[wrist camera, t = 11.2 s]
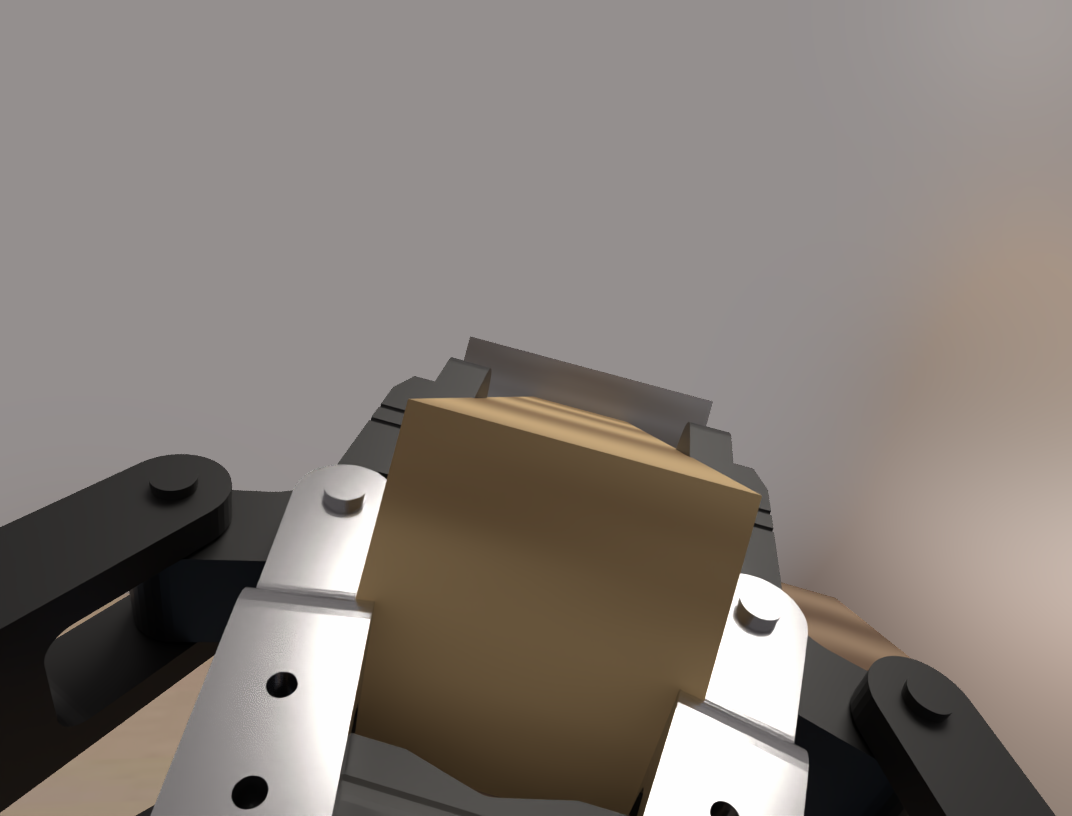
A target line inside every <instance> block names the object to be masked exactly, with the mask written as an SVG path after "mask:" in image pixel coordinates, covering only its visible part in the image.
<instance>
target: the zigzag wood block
mask: <svg viewBox="0 0 1072 816" xmlns="http://www.w3.org/2000/svg"><path fill="white" fill-rule="evenodd" d="M781 586H782V591H783V592H785V593H786V594H787V595H788V596H789V597H790V598H791V599H792V600H793V601H794V602H795V603H796V604H797V605H798V607H799V608H800V610H801V611H802V613H803V615H804V617H805V619H806V622H807V626H808V635H809V636H810V637H811V638H812V639H813V640H814V641H816V642H817V643H819V644H820V645H821V646H823V647H825V648H826V649H828V650H830V651H831V652H833V653H835V654H837V655H839V656H840V657H842V658H844V659H846V660H848V661H850V662H852V663H853V664H855V665H857V666H859V667H861V668H863V669H865V670H866V671H868V670H869V668H870V667H871V666H872V664H873V663H874V662H875V661H877V660H878V659H880V658H883V657H886V656H902V657H907V658H909V656H907V655H906V654H905V653H904V652H902V651H901V650H900V649H898V648H897V647H896V646H895V645H893V644H892V643H891V642H890V641H888V640H887V639H886V638H884V637H883V636H882V635H881V634H880V633H879V632H877V631H876V630H875V629H874V628H872V627H871V626H870V625H868V624H867V623H866V622H865V621H863V620H862V619H861V618H860V617H858V616H857V615H856V614H855V613H853V612H852V611H851V610H850V609H848V608H847V607H846V606H845V605H843V604H842V603H841V602H840V601H838V600H837V599H836V598H834V597H830V596H827V595H823V594H820V593H816V592H813V591H809V590H806V589H802V588H799V587H795V586H792V585H788V584H785V583H781ZM473 790H474V789H473ZM475 791H476V792H478V793H480V794H482V795H485V796H488V797H494V798H500V797H497V796H494V795H490V794H487V793H484V792H480V791H477V790H475Z"/></svg>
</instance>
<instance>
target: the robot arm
mask: <svg viewBox="0 0 1072 816" xmlns="http://www.w3.org/2000/svg"><path fill="white" fill-rule="evenodd" d="M491 372H492V370H491V368H489V367H485V366H482V365H478V364H474V363H471V362H467V361H463V360H459V359H456V358H450V359H449V361H448V362H447V364H446V365H445V367H444V368H443V370H442V372H441V373H440V375H439V376H438V378H437V379H436V381H435V382H434V381H430V380H427V379H423V378H419V377H416V376H414V377H412V378H410V379H408V380H406V381H404V382H402V383H401V384H399V385H397V386H395V387H393V388H392V389H391V391H390V392H389V394H388V395H387V396H386V398H385V399H384V401H383V402H382V403H381V407H379V408H378V409H377V410H376V412H375V413H374V414H373V416H372V418H371V421H370V420H369V421H368V423H367V424H366V425H365V427H364V428H363V430H362V431H361V432H360V434H359V435H358V437H357V438H356V439H355V441H354V442H353V443H352V445H351V446H350V448H349V449H348V450H347V452H346V453H345V455H344V456H343V457H342V459H341V460H340V461H339V463H338V464H337V465H331V466H325V467H322V468H319V469H316V470H313V471H312V472H310V473H308V474H306V475H305V476H304V477H303V478H301V479H300V480H299V481H298V482H297V484H296V485H295V487H294V489H293V490H292V491H284V492H261V491H239V490H232V482H231V478H230V475H229V473H228V472H227V470H226V469H225V468H224V467H223V466H221V465H220V464H219V463H217V462H215V461H213V460H211V459H208V458H205V457H201V456H196V455H188V454H185V455H184V454H175V455H166V456H160V457H156V458H153V459H149V460H146V461H144V462H141V463H139V464H137V465H135V466H133V467H130V468H128V469H126V470H124V471H122V472H120V473H117V474H115V475H113V476H111V477H109V478H107V479H104V480H102V481H100V482H98V483H96V484H93V485H91V486H89V487H87V488H85V489H83V490H80V491H78V492H76V493H74V494H72V495H70V496H68V497H65V498H63V499H61V500H59V501H57V502H54V503H52V504H50V505H48V506H46V507H43V508H41V509H39V510H37V511H35V512H33V513H31V514H28V515H26V516H24V517H22V518H20V519H17V520H15V521H13V522H11V523H9V524H7V525H5V526H2V527H0V812H2V811H3V810H4V809H6V808H7V807H9V806H10V805H11V804H13V803H14V802H15V801H17V800H18V799H19V798H21V797H22V796H23V795H25V794H26V793H28V792H29V791H30V790H32V789H33V788H34V787H36V786H37V785H38V784H40V783H41V782H42V781H44V780H45V779H47V778H48V777H49V776H51V775H52V774H53V773H55V772H56V771H57V770H59V769H60V768H61V767H63V766H64V765H66V764H67V763H68V762H70V761H71V760H72V759H74V758H75V757H76V756H78V755H79V754H80V753H82V752H83V751H85V750H86V749H87V748H89V747H90V746H91V745H93V744H94V743H95V742H97V741H98V740H99V739H101V738H102V737H104V736H105V735H106V734H108V733H109V732H110V731H112V730H113V729H114V728H116V727H117V726H118V725H120V724H121V723H123V722H124V721H125V720H127V719H128V718H129V717H131V716H132V715H133V714H135V713H136V712H137V711H139V710H140V709H142V708H143V707H144V706H146V705H147V704H148V703H150V702H151V701H152V700H154V699H155V698H156V697H158V696H159V695H161V694H162V693H163V692H165V691H166V690H167V689H169V688H170V687H171V686H173V685H174V684H176V683H177V682H178V681H180V680H181V679H182V678H184V677H185V676H186V675H188V674H189V673H190V672H192V671H193V670H195V669H196V668H197V667H199V666H200V665H201V664H203V663H204V662H205V661H207V660H208V659H209V658H211V657H212V656H214V655H215V656H214V658H213V661H212V663H211V666H210V668H209V671H208V673H207V676H206V678H205V681H204V683H203V686H202V688H201V691H200V693H199V696H198V698H197V701H196V703H195V706H194V708H193V711H192V713H191V716H190V718H189V721H188V723H187V726H186V728H185V731H184V733H183V736H182V738H181V741H180V743H179V746H178V748H177V751H176V753H175V756H174V758H173V761H172V763H171V766H170V768H169V771H168V773H167V776H166V778H165V781H164V783H163V786H162V788H161V791H160V793H159V796H158V798H157V801H156V803H155V805H154V806H152V807H150V808H148V809H147V810H145V811H143V812H142V813H140V814H138V815H136V816H628V815H625V814H621V813H618V812H615V811H611V810H608V809H605V808H601V807H598V806H595V805H591V804H588V803H585V802H581V801H574V800H546V799H517V798H494V797H488V796H485V795H482V794H480V793H478V792H476V791H475V790H473V789H471V788H470V787H468V786H466V785H465V784H463V783H461V782H460V781H458V780H456V779H455V778H453V777H451V776H450V775H448V774H446V773H445V772H443V771H441V770H440V769H438V768H437V767H435V766H433V765H432V764H430V763H428V762H427V761H425V760H423V759H422V758H420V757H418V756H417V755H415V754H413V753H412V752H410V751H408V750H407V749H404V748H400V747H397V746H394V745H390V744H387V743H384V742H380V741H377V740H374V739H370V738H367V737H364V736H360V735H357V734H354V733H355V731H356V725H357V718H358V711H359V704H360V698H361V691H362V684H363V678H364V671H365V664H366V657H367V651H368V644H369V637H370V631H371V624H372V617H373V611H374V604H375V601H370V600H361V599H355V598H356V594H357V590H358V587H359V583H360V579H361V575H362V571H363V568H364V564H365V560H366V556H367V552H368V549H369V545H370V541H371V537H372V534H373V530H374V526H375V522H376V518H377V515H378V511H379V507H380V503H381V500H382V496H383V492H384V488H385V484H386V481H387V477H388V473H389V469H390V466H391V462H392V458H393V454H394V450H395V447H396V443H397V439H398V435H399V432H400V428H401V424H402V420H403V416H404V413H405V409H406V405H407V401H408V399H424V398H487V396H488V391H489V385H490V380H491ZM676 450H678V451H680V452H682V453H683V454H685V455H687V456H689V457H691V458H694V459H696V460H698V461H699V462H701V463H703V464H705V465H707V466H709V467H710V468H712V469H714V470H716V471H718V472H720V473H721V474H723V475H725V476H727V477H729V478H731V479H732V480H734V481H736V482H738V483H740V484H742V485H743V486H745V487H747V488H749V489H751V490H753V491H754V492H756V493H758V494H760V495H762V498H761V501H760V505H759V509H758V512H757V516H756V519H755V523H754V526H753V530H752V533H751V537H750V541H749V544H748V548H747V551H746V555H745V558H744V562H743V565H742V569H741V573H740V576H739V580H738V583H737V587H736V590H735V594H734V598H733V601H732V605H731V608H730V612H729V615H728V619H727V622H726V626H725V630H724V633H723V637H722V640H721V644H720V647H719V651H718V654H717V658H716V662H715V665H714V669H713V672H712V676H711V679H710V683H709V686H708V690H707V694H706V697H705V701H704V700H702V699H699V698H697V697H695V696H693V695H691V694H689V693H687V692H685V691H683V690H681V689H680V690H679V692H678V695H677V697H676V700H675V702H674V705H673V707H672V709H671V712H670V714H669V717H668V719H667V722H666V724H665V727H664V729H663V732H662V734H661V736H660V739H659V741H658V744H657V746H656V749H655V751H654V754H653V756H652V759H651V761H650V763H649V766H648V768H647V771H646V773H645V776H644V778H643V781H642V783H641V785H640V788H639V790H638V793H637V795H636V798H635V800H634V803H633V805H632V808H631V810H630V812H629V816H1055V814H1054V813H1053V812H1052V810H1051V809H1050V807H1049V806H1048V805H1047V803H1046V802H1045V801H1044V799H1043V798H1042V797H1041V795H1040V794H1039V793H1038V791H1037V790H1036V789H1035V788H1034V786H1033V785H1032V783H1031V782H1030V781H1029V779H1028V778H1027V777H1026V775H1025V774H1024V773H1023V771H1022V770H1021V769H1020V767H1019V766H1018V764H1017V763H1016V762H1015V761H1014V759H1013V758H1012V757H1011V755H1010V754H1009V752H1008V751H1007V750H1006V748H1005V747H1004V746H1003V744H1002V743H1001V742H1000V740H999V739H998V738H997V736H996V735H995V734H994V732H993V731H992V730H991V728H990V727H989V726H988V724H987V723H986V721H985V720H984V719H983V717H982V716H981V715H980V713H979V712H978V711H977V709H976V708H975V707H974V705H973V704H972V703H971V701H970V700H969V699H968V698H967V696H966V695H965V694H964V693H963V692H962V691H961V690H960V689H959V688H958V687H957V686H956V685H955V684H954V683H953V682H952V681H951V680H949V679H948V678H947V677H946V676H944V675H943V674H941V673H940V672H939V671H937V670H935V669H934V668H932V667H930V666H928V665H926V664H924V663H922V662H919V661H917V660H914V659H911V658H907V657H902V656H886V657H883V658H880V659H878V660H877V661H875V662H874V663H873V664H872V666H871V667H870V668H869V670H868V671H866V670H865V669H863V668H861V667H859V666H857V665H855V664H853V663H852V662H850V661H848V660H846V659H844V658H842V657H840V656H839V655H837V654H835V653H833V652H831V651H830V650H828V649H826V648H825V647H823V646H821V645H820V644H819V643H817V642H816V641H814V640H813V639H812V638H811V637H810V636H809V635H808V626H807V622H806V619H805V617H804V615H803V613H802V611H801V610H800V608H799V607H798V605H797V604H796V603H795V602H794V601H793V600H792V599H791V598H790V597H789V596H788V595H787V594H786V593H785V592H783V591H782V586H781V580H780V572H779V565H778V558H777V552H776V544H775V537H774V533H773V532H772V530H773V523H772V516H771V515H770V512H771V509H770V502H769V495H768V490H767V488H766V487H765V485H764V484H763V482H762V481H761V479H760V478H759V477H758V475H757V474H756V472H755V471H754V469H752V468H749V467H745V466H742V465H738V464H734V463H733V454H732V442H731V434H730V433H729V432H725V431H721V430H717V429H713V428H710V427H706V426H703V425H699V424H695V423H692V422H688V423H687V424H686V425H685V427H684V430H683V432H682V434H681V437H680V440H679V442H678V445H677V448H676ZM128 591H129V592H130V595H128V596H127V597H125V598H123V599H122V600H120V601H118V602H117V603H115V604H113V605H112V606H110V607H108V608H107V609H105V610H103V611H102V612H100V613H98V614H97V615H95V616H93V617H92V618H90V619H88V620H87V621H85V622H83V623H82V624H80V625H78V626H77V627H75V628H73V629H72V630H70V631H68V632H67V633H65V634H63V635H62V636H60V637H58V636H59V635H60V634H61V633H62V632H63V631H64V630H65V629H67V628H68V627H69V626H71V625H72V624H74V623H76V622H77V621H79V620H81V619H82V618H84V617H86V616H87V615H89V614H91V613H92V612H94V611H96V610H98V609H99V608H101V607H103V606H104V605H106V604H108V603H109V602H111V601H113V600H114V599H116V598H118V597H119V596H121V595H123V594H124V593H126V592H128ZM57 637H58V638H57ZM56 638H57V639H56Z"/></svg>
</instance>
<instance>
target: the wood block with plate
mask: <svg viewBox="0 0 1072 816" xmlns="http://www.w3.org/2000/svg"><path fill="white" fill-rule="evenodd" d="M464 361H467V362H471V363H474V364H478V365H482V366H485V367H489V368H491V370H492V372H491V380H490V385H489V391H488V396H487V398H424V399H408V401H407V405H406V409H405V413H404V416H403V420H402V424H401V428H400V432H399V435H398V439H397V443H396V447H395V450H394V454H393V458H392V462H391V466H390V469H389V473H388V477H387V481H386V484H385V488H384V492H383V496H382V500H381V503H380V507H379V511H378V515H377V518H376V522H375V526H374V530H373V534H372V537H371V541H370V545H369V549H368V552H367V556H366V560H365V564H364V568H363V571H362V575H361V579H360V583H359V587H358V590H357V594H356V598H355V599H361V600H370V601H375V604H374V611H373V617H372V624H371V631H370V637H369V644H368V651H367V657H366V664H365V671H364V678H363V684H362V691H361V698H360V704H359V711H358V718H357V725H356V731H355V733H354V734H357V735H360V736H364V737H367V738H370V739H374V740H377V741H380V742H384V743H387V744H390V745H394V746H397V747H400V748H404V749H407V750H408V751H410V752H412V753H413V754H415V755H417V756H418V757H420V758H422V759H423V760H425V761H427V762H428V763H430V764H432V765H433V766H435V767H437V768H438V769H440V770H441V771H443V772H445V773H446V774H448V775H450V776H451V777H453V778H455V779H456V780H458V781H460V782H461V783H463V784H465V785H466V786H468V787H470V788H471V789H474V790H477V791H480V792H484V793H487V794H490V795H494V796H497V797H500V798H517V799H546V800H574V801H581V802H585V803H588V804H591V805H595V806H598V807H601V808H605V809H608V810H611V811H615V812H618V813H621V814H625V815H628V816H629V812H630V810H631V808H632V805H633V803H634V800H635V798H636V795H637V793H638V790H639V788H640V785H641V783H642V781H643V778H644V776H645V773H646V771H647V768H648V766H649V763H650V761H651V759H652V756H653V754H654V751H655V749H656V746H657V744H658V741H659V739H660V736H661V734H662V732H663V729H664V727H665V724H666V722H667V719H668V717H669V714H670V712H671V709H672V707H673V705H674V702H675V700H676V697H677V695H678V692H679V690H680V689H681V690H683V691H685V692H687V693H689V694H691V695H693V696H695V697H697V698H699V699H702V700H704V701H705V697H706V694H707V690H708V686H709V683H710V679H711V676H712V672H713V669H714V665H715V662H716V658H717V654H718V651H719V647H720V644H721V640H722V637H723V633H724V630H725V626H726V622H727V619H728V615H729V612H730V608H731V605H732V601H733V598H734V594H735V590H736V587H737V583H738V580H739V576H740V573H741V569H742V565H743V562H744V558H745V555H746V551H747V548H748V544H749V541H750V537H751V533H752V530H753V526H754V523H755V519H756V516H757V512H758V509H759V505H760V501H761V498H762V495H760V494H758V493H756V492H754V491H753V490H751V489H749V488H747V487H745V486H743V485H742V484H740V483H738V482H736V481H734V480H732V479H731V478H729V477H727V476H725V475H723V474H721V473H720V472H718V471H716V470H714V469H712V468H710V467H709V466H707V465H705V464H703V463H701V462H699V461H698V460H696V459H694V458H691V457H689V456H687V455H685V454H683V453H682V452H680V451H678V450H676V448H677V445H678V442H679V440H680V437H681V434H682V432H683V430H684V427H685V425H686V424H687V423H688V422H692V423H695V424H699V425H703V426H706V424H707V421H708V417H709V413H710V410H711V406H712V403H713V402H712V401H709V400H705V399H701V398H697V397H694V396H690V395H686V394H682V393H679V392H675V391H671V390H667V389H664V388H660V387H656V386H653V385H649V384H645V383H641V382H638V381H634V380H630V379H627V378H623V377H619V376H615V375H611V374H608V373H604V372H600V371H596V370H592V369H589V368H585V367H582V366H578V365H574V364H571V363H566V362H563V361H559V360H556V359H552V358H548V357H544V356H541V355H537V354H533V353H529V352H526V351H522V350H518V349H514V348H511V347H507V346H503V345H499V344H496V343H492V342H488V341H485V340H481V339H477V338H474V337H470V340H469V343H468V347H467V351H466V355H465V359H464Z"/></svg>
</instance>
